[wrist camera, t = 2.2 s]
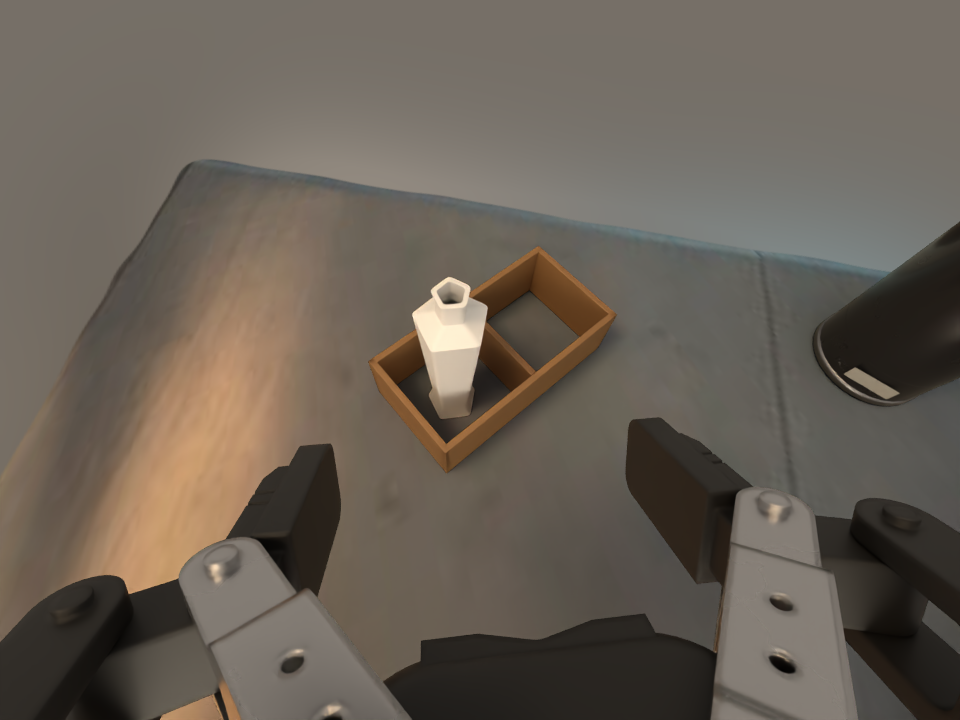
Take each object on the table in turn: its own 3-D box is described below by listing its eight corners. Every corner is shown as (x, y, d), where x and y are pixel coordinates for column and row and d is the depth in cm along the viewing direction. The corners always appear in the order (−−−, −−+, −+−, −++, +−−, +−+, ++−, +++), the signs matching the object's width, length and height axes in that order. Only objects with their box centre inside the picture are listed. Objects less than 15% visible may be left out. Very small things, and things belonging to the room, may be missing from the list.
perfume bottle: (490, 409, 38) (509, 309, 25) (442, 432, 37) (435, 340, 24) (466, 365, 40) (471, 249, 27) (419, 385, 39) (400, 275, 25)
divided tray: (529, 284, 44) (538, 245, 39) (598, 347, 41) (617, 314, 36) (378, 391, 38) (367, 361, 34) (446, 473, 36) (445, 454, 31)
